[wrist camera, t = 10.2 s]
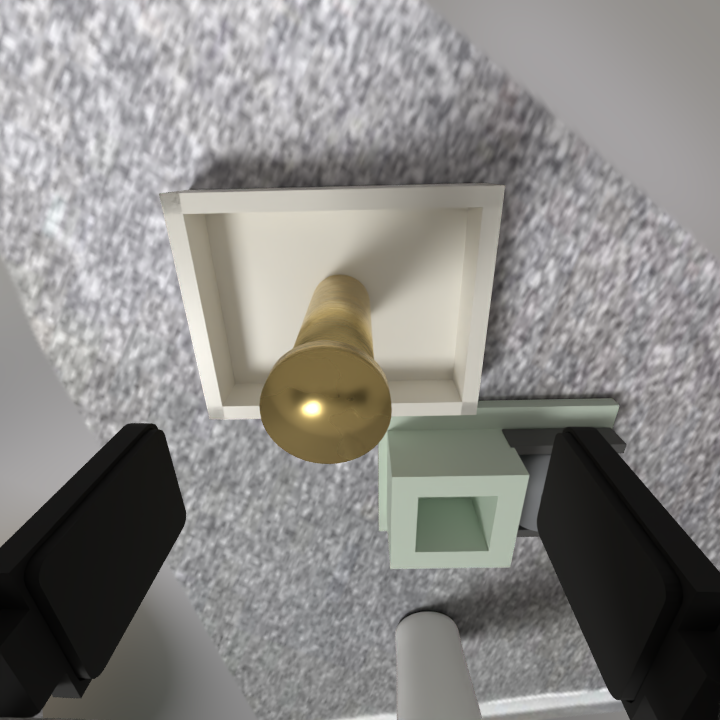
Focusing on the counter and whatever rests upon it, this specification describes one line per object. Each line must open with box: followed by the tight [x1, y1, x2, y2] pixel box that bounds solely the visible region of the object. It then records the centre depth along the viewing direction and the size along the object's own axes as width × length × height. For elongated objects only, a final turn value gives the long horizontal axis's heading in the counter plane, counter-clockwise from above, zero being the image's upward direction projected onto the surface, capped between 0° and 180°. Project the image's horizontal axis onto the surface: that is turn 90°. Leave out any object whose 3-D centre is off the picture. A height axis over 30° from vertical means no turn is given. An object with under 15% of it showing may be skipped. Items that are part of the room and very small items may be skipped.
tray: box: [159, 183, 505, 420], centre depth 20 cm, size 14×11×3 cm
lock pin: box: [259, 275, 392, 464], centre depth 16 cm, size 4×4×10 cm
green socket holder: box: [378, 398, 626, 569], centre depth 24 cm, size 14×10×5 cm
